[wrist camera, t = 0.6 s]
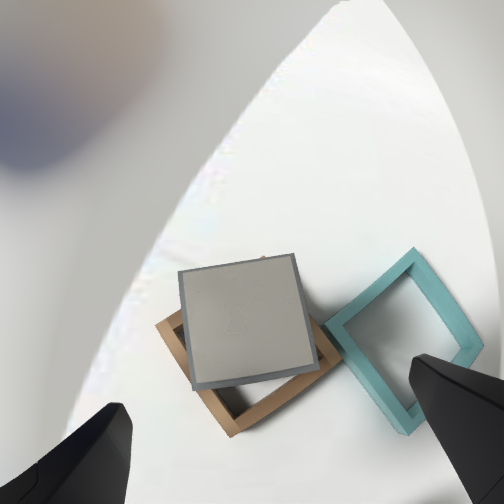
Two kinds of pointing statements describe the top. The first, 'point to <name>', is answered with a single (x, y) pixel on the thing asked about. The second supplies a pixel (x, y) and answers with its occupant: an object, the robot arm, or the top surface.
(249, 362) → the tin
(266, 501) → the top surface
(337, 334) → the teal bin
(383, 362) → the top surface
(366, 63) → the top surface
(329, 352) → the walnut bin
